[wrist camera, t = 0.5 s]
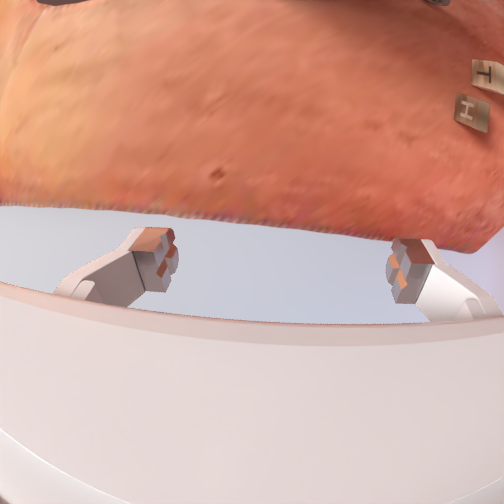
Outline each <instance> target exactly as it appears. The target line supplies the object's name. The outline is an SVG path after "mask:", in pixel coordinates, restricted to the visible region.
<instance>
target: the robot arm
mask: <svg viewBox="0 0 504 504" xmlns="http://www.w3.org/2000/svg"><path fill="white" fill-rule="evenodd" d="M174 239H175V235H174V231H173V230H172V229H171V228H154V227H153V228H152V227H135V228H134V229H133V230H132V231H131V232H130V234H129V235H128V236H127V237H126V239H125V240H124V241H123V242H122V244H121V245H120V246H119V247H118V249H117V250H112V251H111V252H109V253H107V254H105V255H103V256H101V257H99V258H97V259H96V260H94V261H92V262H90V263H89V264H87V265H85V266H83V267H81V268H80V269H78V270H76V271H74V272H72V273H71V274H69V275H67V276H66V277H65V278H64V279H63V280H62V282H61V283H60V284H59V286H58V287H57V288H56V290H55V291H54V292H53V294H49V293H44V292H40V291H36V290H31V289H27V288H23V287H19V286H14V285H10V284H6V283H3V282H0V504H504V316H503V314H502V312H501V310H500V308H499V306H498V304H497V303H496V301H495V299H494V297H493V296H491V295H490V294H489V293H488V292H486V291H485V290H483V289H482V288H481V287H480V286H478V285H477V284H476V283H474V282H473V281H472V280H470V279H469V278H468V277H466V276H465V275H463V274H462V273H460V272H459V271H458V270H456V269H455V268H454V267H452V266H451V265H447V264H446V262H445V261H444V259H443V257H442V256H441V254H440V253H439V251H438V249H437V248H436V246H435V245H434V243H433V242H432V241H431V240H429V239H402V238H395V240H394V241H393V244H392V247H391V248H392V250H393V254H392V255H391V256H390V257H389V258H388V261H387V264H386V276H387V280H388V282H389V283H390V284H391V285H392V286H393V287H392V290H391V291H392V294H393V297H394V300H395V303H403V304H415V305H416V306H417V307H418V308H419V309H420V310H421V311H422V313H423V314H424V315H425V316H426V317H427V318H428V319H429V320H430V321H431V322H425V323H402V324H304V323H280V322H260V321H246V320H233V319H221V318H210V317H199V316H189V315H181V314H172V313H164V312H156V311H148V310H141V309H134V308H127V307H128V306H129V305H130V304H131V303H132V302H133V301H135V300H136V299H137V298H139V297H140V296H141V295H142V294H143V293H144V292H145V291H153V292H166V290H167V288H168V286H169V284H170V282H171V277H170V275H172V274H173V273H175V271H176V269H177V266H178V261H179V258H178V250H177V247H176V246H175V245H174V244H173V241H174Z"/></svg>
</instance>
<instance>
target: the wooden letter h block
mask: <svg viewBox="0 0 504 504" xmlns="http://www.w3.org/2000/svg"><path fill="white" fill-rule="evenodd" d="M490 105H491V103H488V102H486V101H483V100H481V99H478V98H475V97H471V96H467V95H464V94H460V93H456V105H455V114H454V120H456V121H458V122H461V123H463V124H465V125H468V126H470V127H472V128H474V129H476V130H479V131H482V132H485V133H487V130H488V123H489V115H490Z"/></svg>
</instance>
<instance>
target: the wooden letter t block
mask: <svg viewBox="0 0 504 504" xmlns="http://www.w3.org/2000/svg"><path fill="white" fill-rule="evenodd" d="M471 85H473V86H476V87H478V88H480V89H484V90H488V91H492V92H496V93H499V94H503V95H504V66H503V65H501V64H500V63H498V62H495V61H486V60H475V59H472V83H471Z"/></svg>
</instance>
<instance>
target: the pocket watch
mask: <svg viewBox="0 0 504 504" xmlns="http://www.w3.org/2000/svg"><path fill="white" fill-rule="evenodd" d="M427 1H429V2H432V3H434V4H437V5H442V6H447V5H449V3H450V0H427Z"/></svg>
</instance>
